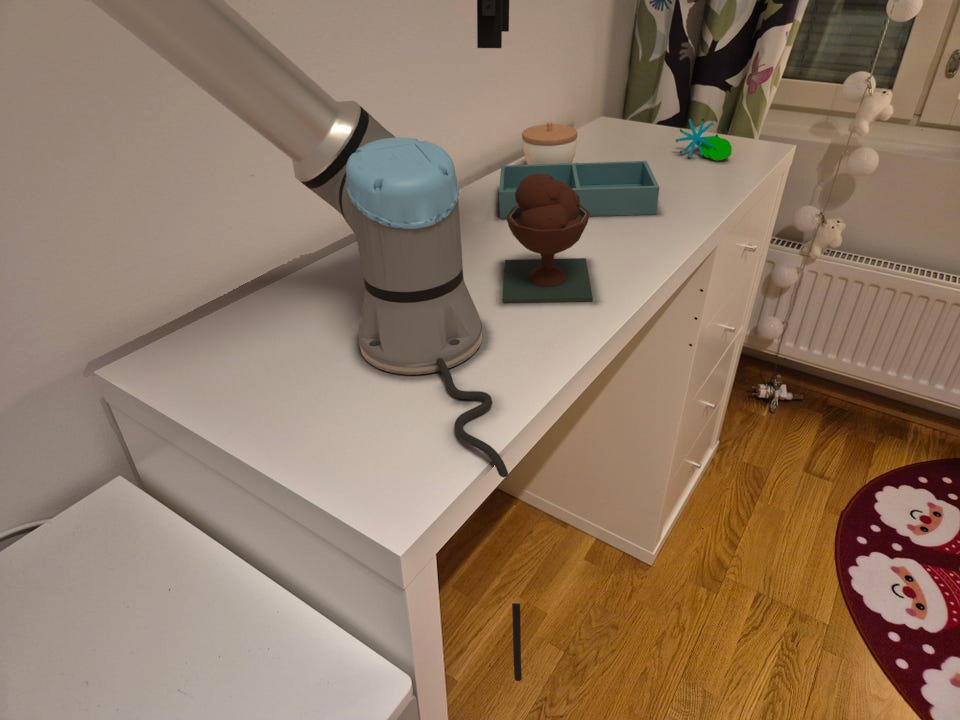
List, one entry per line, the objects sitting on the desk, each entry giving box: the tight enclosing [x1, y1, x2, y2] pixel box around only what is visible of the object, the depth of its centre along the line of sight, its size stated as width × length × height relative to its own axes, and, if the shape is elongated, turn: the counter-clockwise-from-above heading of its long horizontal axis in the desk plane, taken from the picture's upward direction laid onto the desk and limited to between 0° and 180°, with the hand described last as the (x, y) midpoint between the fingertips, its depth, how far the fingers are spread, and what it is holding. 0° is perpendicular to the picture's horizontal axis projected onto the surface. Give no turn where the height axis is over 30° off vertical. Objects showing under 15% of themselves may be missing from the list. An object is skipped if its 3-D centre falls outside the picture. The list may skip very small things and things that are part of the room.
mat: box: [502, 257, 594, 304], centre depth 93 cm, size 12×12×1 cm
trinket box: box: [521, 122, 578, 165], centre depth 129 cm, size 11×11×9 cm
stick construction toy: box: [674, 118, 733, 162], centre depth 134 cm, size 12×7×8 cm
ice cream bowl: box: [506, 173, 590, 287], centre depth 89 cm, size 11×11×15 cm
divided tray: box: [498, 160, 660, 220], centre depth 116 cm, size 14×26×5 cm, turn 87°
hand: (494, 39), depth 80 cm, fingers open, 13 cm apart
